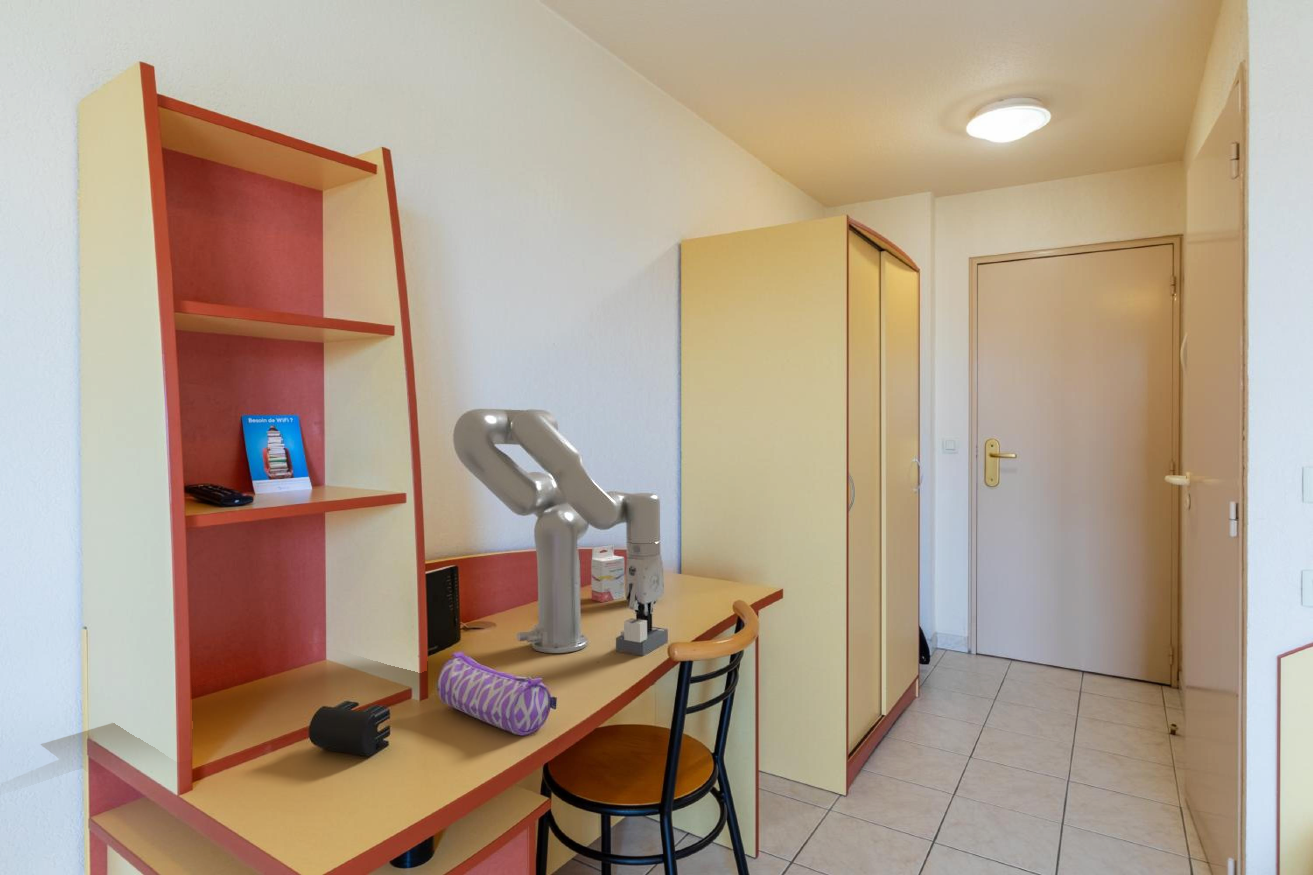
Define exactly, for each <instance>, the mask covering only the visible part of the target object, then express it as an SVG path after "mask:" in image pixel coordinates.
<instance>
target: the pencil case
mask: <svg viewBox="0 0 1313 875" xmlns="http://www.w3.org/2000/svg"><path fill="white" fill-rule="evenodd" d="M451 657H454V658H451V659H450V660H448V661H447V662H445V664H444V665H443V666H442V667H441V670H440V673H439V676H438V680H437V684H436V687H437V689H436V690H437V693H438V697H439V699H440V700H441V701H442V703H444V704H445V705H448V706H449V707H451V708H453V709H455V710H458V711H460V712H463V713H464V714H467V715H469V716H471V717H473V718H475V719H477V720H479V721H483V723H487V724H489V725H492V726H494V727H497V728H499V729H502V730H504V731H507V732H509V733H512V734H514V735H518V736H528V735H530V734H532V733H534V732H536V731H538V730H540V729H541V727H542V726H543V725H545V723H546V721H547V720H548V718H549V714H550V711H551V709H552V710H556V709H557V701H558V700H557V699H558V697H557V696H556V697H555V696H552V695H551V692H550V690H549V688H548V687H547V686H546V685H545V684H544V683H542V681H543V678H542V677H539V678H538V677H537V678H532V677H531V676H530V675H529V676H526V677H525V676H517V675H513V674H510V673H507V672H502V671H498V670H496V669H494V668H491V667H488V666H485V665H483V664H481V663H479V662H477V661H476V660H474V659H473V658H472V657H470V656H468V655H466V654H465V653H464V651H457V652H453V653H451Z"/></svg>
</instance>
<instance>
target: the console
mask: <svg viewBox="0 0 1313 875" xmlns="http://www.w3.org/2000/svg"><path fill="white" fill-rule="evenodd" d="M668 632H669V631H668V628H664V627H656V626H652V631H651V632H649V633H647V639H646V640H644V641H642V642H634V641H629V640H624V629H623V630H621V631H620V635H618V636H616V637H615V652H618V651H619V652H620V653H625V654H629V653H631V654H630V655H635V654H636V656H640V655H641V657H644V656H646V655H647V653H648V654H650V653H652V652H653V651H654V650H657V649H659V648H660V647H661V646H663V645H665V644H667V643H668V641H669V640H668V638H669V634H668Z"/></svg>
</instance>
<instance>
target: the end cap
mask: <svg viewBox="0 0 1313 875" xmlns="http://www.w3.org/2000/svg"><path fill="white" fill-rule="evenodd" d="M359 706H360V703H359V702H357V701H350V700H345V701H342V702H341V703H339V704H336V705H335V706H333V707H332V706H325V705H323V706H321V707H320V708H318V710H317V711H315V713H314V714H313V716H312V718H311V719H310V720H311V721H310V722H309V726H308V737H309V741H310V742H311V744H313V745H314V746H316V747H318V748H320V749H323V750H327V751H333V752H339V753H346V754H353V755H357V756H363V757H367V758H368V757H371V758H372V757H373V756H375V755H377V754H379V753H380V752H381V751H383V750H384V749H386V748H387V747H389V745H390V742H389V740H386V739H387V738H388V737H390V736H391V725H387V726H385V727H383V728H381V729H380V730H378V728H379V726H380V725H381V724H383V723H384V722H386V721H388V720H389V719H390V718H391V712H390V711H391V710H390V708H389V707H388V706H386V705H378V704H373V705H371V706H369V707H367V708H365V709H361V710H355V709H356V708H357V707H359Z"/></svg>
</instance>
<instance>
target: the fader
mask: <svg viewBox="0 0 1313 875" xmlns="http://www.w3.org/2000/svg"><path fill="white" fill-rule="evenodd" d="M623 630H624V640H629V641H634V642H642V641H644V640H646V639H647V620H641V619H639V618H638V619H636V618H633V617H632V618H628V619H625V620H624V622H623Z"/></svg>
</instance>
